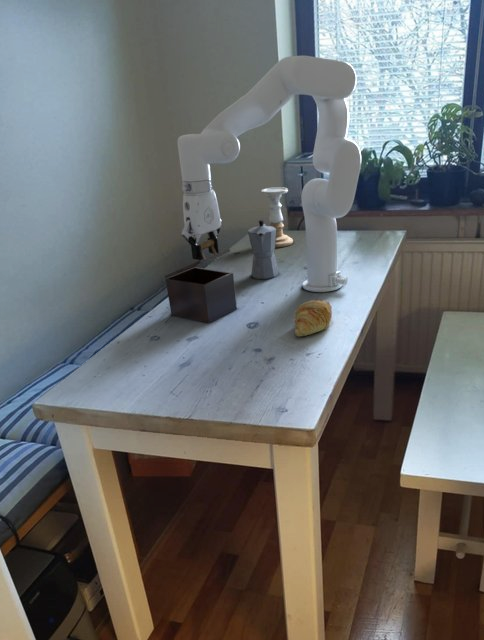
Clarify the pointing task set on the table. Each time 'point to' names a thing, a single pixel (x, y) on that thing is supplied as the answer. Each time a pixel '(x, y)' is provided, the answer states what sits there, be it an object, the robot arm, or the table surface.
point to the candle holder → (277, 215)
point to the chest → (201, 294)
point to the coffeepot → (263, 251)
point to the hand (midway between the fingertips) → (205, 255)
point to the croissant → (312, 317)
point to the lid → (203, 245)
